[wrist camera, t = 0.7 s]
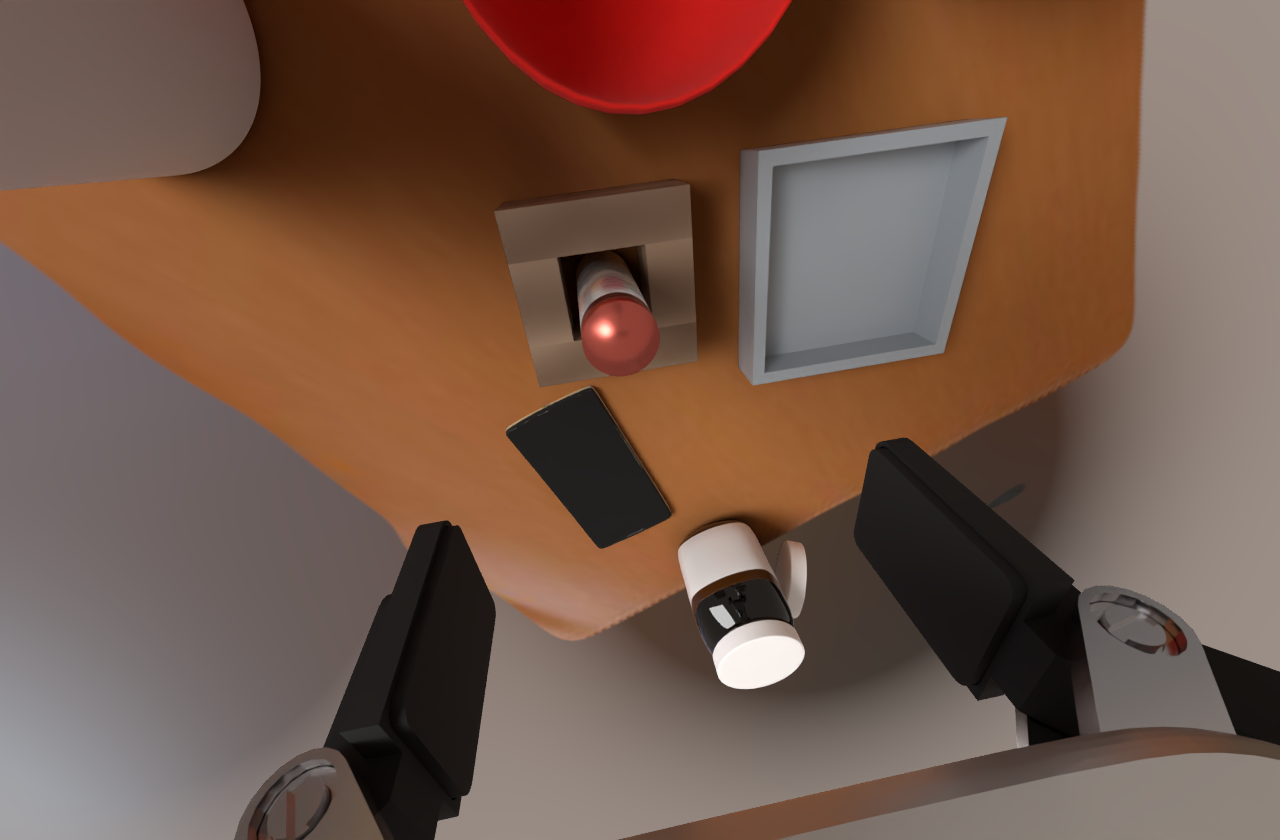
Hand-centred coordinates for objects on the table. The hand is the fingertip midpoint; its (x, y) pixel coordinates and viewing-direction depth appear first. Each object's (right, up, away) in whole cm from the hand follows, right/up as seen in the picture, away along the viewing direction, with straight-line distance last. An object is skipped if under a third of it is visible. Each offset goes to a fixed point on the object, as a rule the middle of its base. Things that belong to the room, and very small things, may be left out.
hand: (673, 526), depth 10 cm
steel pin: (-3, +12, +19) cm, 22 cm away
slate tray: (+13, +13, +20) cm, 27 cm away
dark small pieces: (-4, -2, +27) cm, 28 cm away
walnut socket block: (-3, +12, +19) cm, 22 cm away
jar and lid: (+9, -10, +34) cm, 36 cm away
